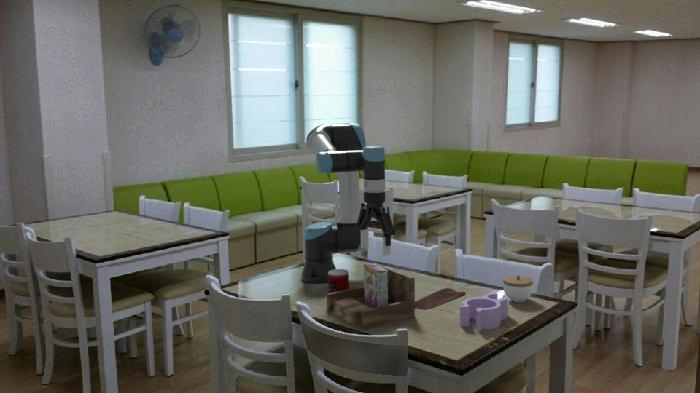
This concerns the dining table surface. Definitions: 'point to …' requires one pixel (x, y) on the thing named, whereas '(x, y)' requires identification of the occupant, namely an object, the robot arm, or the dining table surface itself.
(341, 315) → the offcut lower
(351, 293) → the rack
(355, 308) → the offcut upper
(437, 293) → the wooden tablet
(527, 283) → the lidded jar
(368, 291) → the candy bar box
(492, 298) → the clip
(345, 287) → the canned food
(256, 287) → the dining table surface
